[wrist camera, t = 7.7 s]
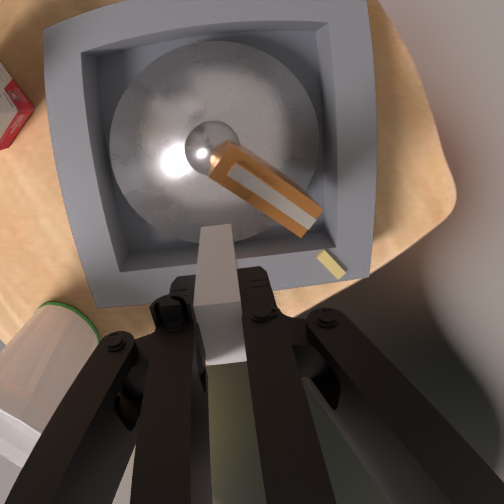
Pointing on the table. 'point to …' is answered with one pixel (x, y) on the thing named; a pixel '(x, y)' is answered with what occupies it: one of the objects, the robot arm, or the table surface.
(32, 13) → the table surface
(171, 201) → the dial
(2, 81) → the ink box
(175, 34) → the housing
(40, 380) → the cup
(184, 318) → the robot arm
